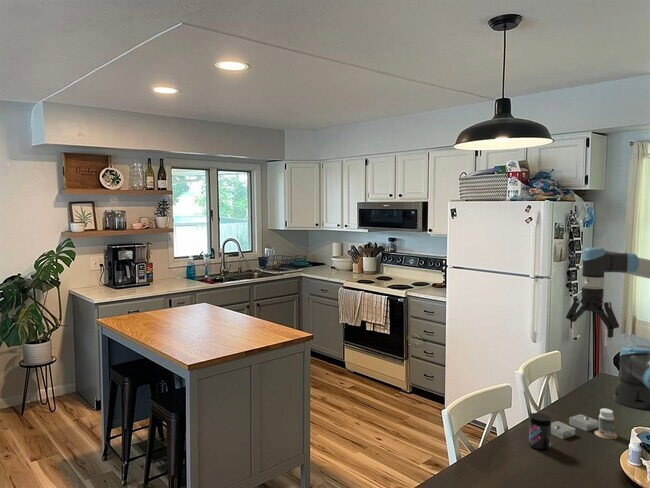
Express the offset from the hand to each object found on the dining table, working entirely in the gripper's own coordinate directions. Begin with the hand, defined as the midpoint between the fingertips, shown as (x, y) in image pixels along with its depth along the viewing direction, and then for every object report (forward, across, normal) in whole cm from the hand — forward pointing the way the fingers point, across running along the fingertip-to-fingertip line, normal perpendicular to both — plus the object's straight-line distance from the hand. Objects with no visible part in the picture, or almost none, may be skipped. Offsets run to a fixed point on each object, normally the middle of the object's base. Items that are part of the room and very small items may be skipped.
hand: (590, 341), depth 193 cm
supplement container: (+29, +10, -41) cm, 51 cm away
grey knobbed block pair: (+29, +6, -19) cm, 35 cm away
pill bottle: (+28, +15, -12) cm, 34 cm away
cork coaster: (+29, +15, -12) cm, 35 cm away
